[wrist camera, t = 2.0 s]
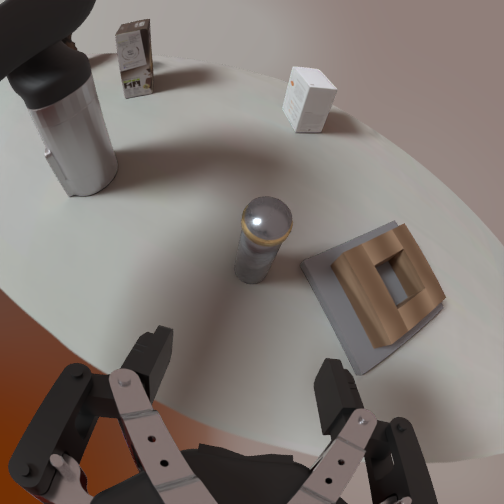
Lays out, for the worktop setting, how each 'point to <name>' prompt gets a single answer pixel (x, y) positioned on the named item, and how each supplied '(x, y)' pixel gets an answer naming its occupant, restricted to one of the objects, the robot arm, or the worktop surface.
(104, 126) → the robot arm
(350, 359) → the base
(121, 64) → the coffee box
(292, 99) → the small box
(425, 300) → the socket block
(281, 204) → the gold-rimmed metal cylinder
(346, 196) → the worktop surface
